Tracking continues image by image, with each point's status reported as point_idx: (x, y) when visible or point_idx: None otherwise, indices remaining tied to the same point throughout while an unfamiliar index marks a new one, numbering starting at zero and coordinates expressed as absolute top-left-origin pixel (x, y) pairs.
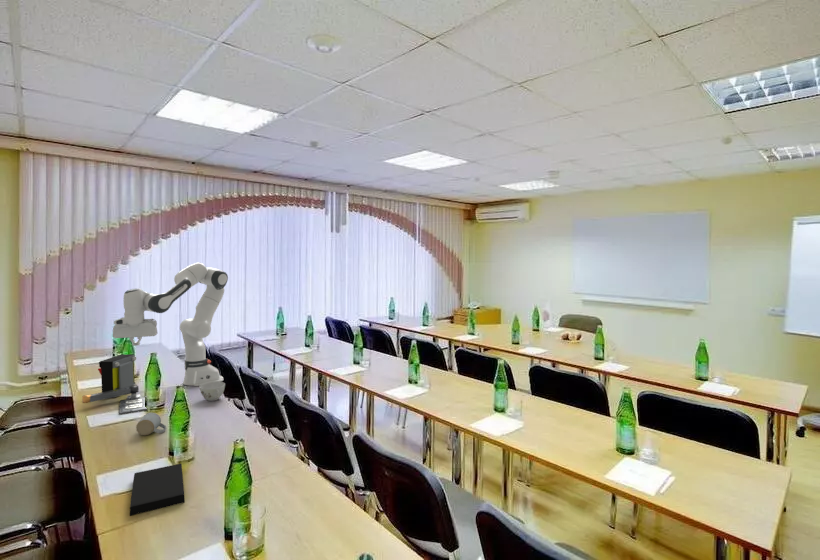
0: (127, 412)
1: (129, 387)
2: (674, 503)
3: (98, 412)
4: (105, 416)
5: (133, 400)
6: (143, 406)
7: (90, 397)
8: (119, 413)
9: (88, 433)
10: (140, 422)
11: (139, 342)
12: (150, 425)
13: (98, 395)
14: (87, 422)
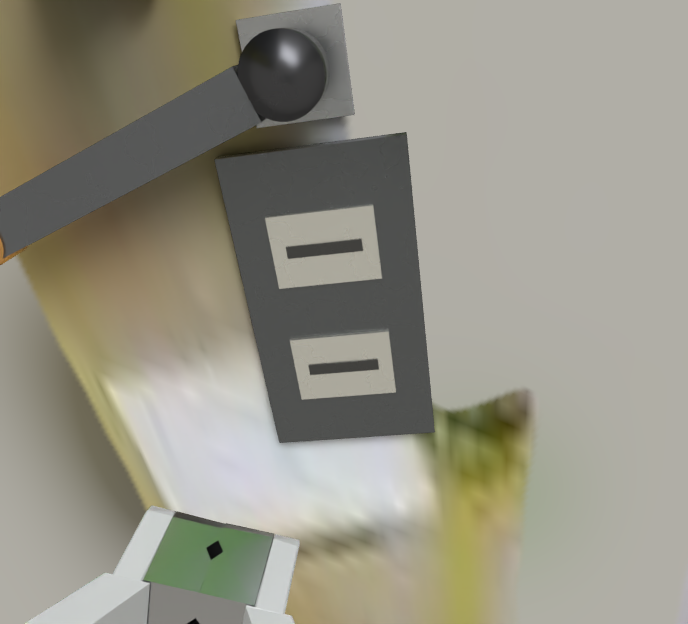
0: (323, 437)
1: (246, 93)
2: None
3: (147, 347)
4: (214, 434)
5: (318, 228)
6: (404, 384)
7: (11, 254)
8: (282, 439)
9: None
10: None
11: (286, 604)
12: None
13: (52, 231)
14: (153, 486)
